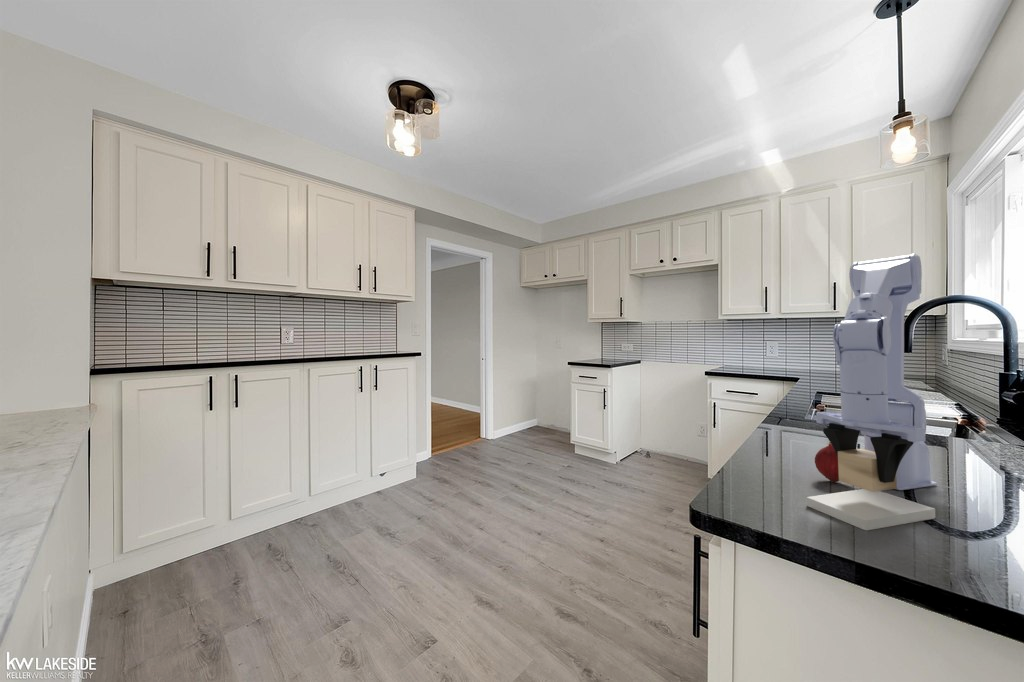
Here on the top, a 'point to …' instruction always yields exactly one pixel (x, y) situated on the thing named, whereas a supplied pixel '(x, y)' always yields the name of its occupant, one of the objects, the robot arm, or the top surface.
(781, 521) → the top surface
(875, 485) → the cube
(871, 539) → the top surface
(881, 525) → the cutting board
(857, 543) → the top surface
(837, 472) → the onion
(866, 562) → the top surface
